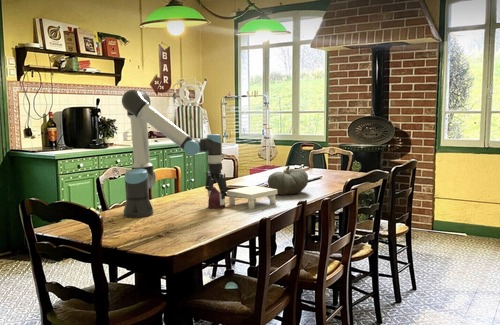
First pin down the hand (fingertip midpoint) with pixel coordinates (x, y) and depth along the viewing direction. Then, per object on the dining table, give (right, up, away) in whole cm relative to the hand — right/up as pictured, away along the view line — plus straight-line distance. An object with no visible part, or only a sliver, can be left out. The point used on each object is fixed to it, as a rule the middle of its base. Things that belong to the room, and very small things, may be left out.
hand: (216, 203), depth 267 cm
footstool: (+19, -1, +6) cm, 20 cm away
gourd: (+41, +3, +35) cm, 54 cm away
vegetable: (0, -2, 0) cm, 2 cm away
